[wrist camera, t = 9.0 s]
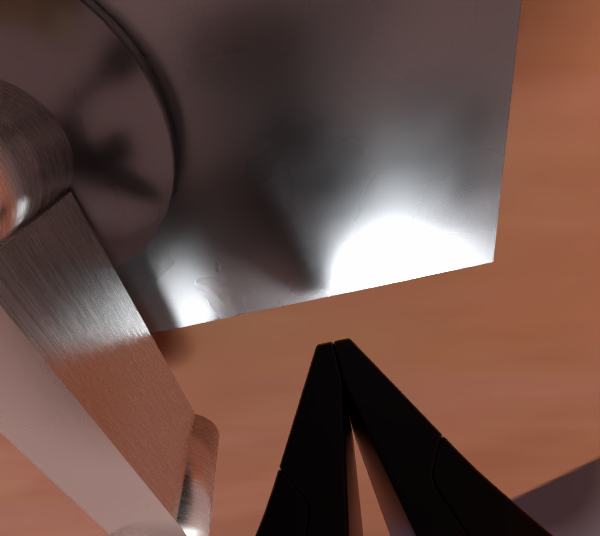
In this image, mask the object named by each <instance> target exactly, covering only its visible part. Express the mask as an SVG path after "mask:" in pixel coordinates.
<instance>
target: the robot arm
mask: <svg viewBox="0 0 600 536" xmlns="http://www.w3.org/2000/svg"><path fill="white" fill-rule="evenodd" d="M350 421H351V422H350ZM351 425H352V427H351ZM352 429H353V432H354V435H355V438H356V441H357V444H358V447H359V449H360V452H361V455H362V458H363V461H364V463H365V466H366V469H367V472H368V475H369V477H370V480H371V483H372V486H373V489H374V491H375V494H376V497H377V500H378V503H379V505H380V508H381V511H382V514H383V517H384V519H385V522H386V525H387V528H388V531H389V533H390V536H553V535H552V534H551V533H549V532H548V531H547V530H546V529H545V528H544V527H542V526H541V525H540V524H539V523H538V522H537V521H535V520H534V519H533V518H532V517H531V516H529V515H528V514H527V513H526V512H525V511H524V510H522V509H521V508H520V507H519V506H518V505H516V504H515V503H514V502H513V501H512V500H511V499H509V498H508V497H507V496H506V495H505V494H504V493H502V492H501V491H500V490H499V489H498V488H497V487H496V486H495V485H493V484H492V483H491V482H490V481H489V480H488V479H487V478H486V477H484V476H483V475H482V474H481V473H480V472H479V471H478V470H477V469H476V468H475V467H474V466H473V465H472V464H471V463H470V462H469V461H468V460H467V459H466V458H465V457H464V456H463V455H462V454H461V453H459V452H458V451H457V449H456V448H455V447H454V446H453V445H452V444H451V443H450V442H449V441H448V440H447V439H446V438H445V437H442V434H441V433H440V432H439V431H438V430H437V429H436V428H435V427H434V426H433V425H432V424H431V423H430V422H429V421H428V419H427V418H426V417H425V416H424V415H423V414H422V413H421V412H420V411H419V410H418V409H417V408H416V407H415V406H414V405H413V404H412V403H411V402H410V401H409V400H408V399H407V398H406V397H405V395H404V394H403V393H402V392H401V391H400V390H399V389H398V388H397V387H396V386H395V385H394V384H393V383H392V382H391V381H390V380H389V379H388V378H387V377H386V376H385V375H384V374H383V373H382V372H381V370H380V369H379V368H378V367H377V366H376V365H375V364H374V363H373V362H372V361H371V360H370V359H369V358H368V357H367V356H366V355H365V354H364V353H363V352H362V351H361V350H360V349H359V348H358V346H357V345H356V344H355V343H354V342H353V341H352V340H351V339H348V338H347V339H342V340H337V341H335V342H334V344H333V343H332V342H328V343H323V344H319V345H317V346H316V349H315V352H314V355H313V359H312V362H311V365H310V368H309V372H308V375H307V378H306V382H305V385H304V388H303V391H302V395H301V398H300V401H299V405H298V408H297V411H296V414H295V418H294V421H293V424H292V428H291V431H290V434H289V437H288V441H287V444H286V447H285V451H284V454H283V457H282V460H281V464H280V470H278V473H277V476H276V480H275V483H274V486H273V489H272V492H271V495H270V498H269V501H268V504H267V507H266V510H265V513H264V516H263V518H262V521H261V523H260V526H259V528H258V531H257V533H256V536H363V528H362V519H361V509H360V499H359V490H358V480H357V471H356V461H355V451H354V442H353V434H352Z"/></svg>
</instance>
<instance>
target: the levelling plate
mask: <svg viewBox="0 0 600 536" xmlns="http://www.w3.org/2000/svg"><path fill="white" fill-rule="evenodd" d="M92 1H94V2H95V3H96V4H97V5H98V6H99V7H100V8H101V9H102V10H103V11H104V12H105V13H106V14H108V15H109V16H110V17H111V18H112V19H113V20H114V21H115V22H116V23H117V24H118V26H119V27H120V28H121V29H122V30H123V31H124V32H125V34H126V35H127V36H128V37H129V38H130V39H131V40H132V42H133V43H134V44H135V46H136V47H137V49H138V50H139V51H140V53H141V54H142V56H143V57H144V59H145V60H146V61H147V63H148V64H149V66H150V68H151V70H152V72H153V73H154V75H155V77H156V79H157V80H158V82H159V84H160V86H161V88H162V91H163V93H164V95H165V98H166V100H167V102H168V105H169V108H170V111H171V114H172V118H173V121H174V125H175V129H176V135H177V141H178V147H179V172H178V181H177V186H176V190H175V194H174V198H173V200H172V203H171V205H170V207H169V210H168V212H167V214H166V216H165V218H164V220H163V222H162V223H161V225H160V227H159V229H158V230H157V232H156V233H155V235H154V236H153V238H152V240H151V241H150V242H149V243H148V244H147V245H146V246H145V247H144V249H143V250H142V251H141V252H140V253H138V254H137V255H136V256H135V257H134V258H132V259H131V260H130V261H128V262H127V263H125V264H123V265H122V266H120V267H118V268H117V269H115V271H116V273H117V275H118V277H119V279H120V280H121V282H122V284H123V286H124V287H125V289H126V291H127V293H128V295H129V296H130V298H131V300H132V302H133V304H134V305H135V307H136V309H137V311H138V312H139V314H140V316H141V318H142V320H143V321H144V323H145V325H146V327H147V329H148V330H149V332H150V334H151V333H155V332H160V331H165V330H170V329H174V328H179V327H184V326H189V325H194V324H198V323H203V322H208V321H213V320H217V319H222V318H227V317H232V316H237V315H241V314H246V313H251V312H256V311H260V310H265V309H270V308H275V307H280V306H284V305H289V304H294V303H299V302H303V301H308V300H313V299H318V298H322V297H327V296H332V295H337V294H342V293H346V292H351V291H356V290H361V289H365V288H370V287H375V286H380V285H385V284H389V283H394V282H399V281H404V280H408V279H413V278H418V277H423V276H428V275H432V274H437V273H442V272H447V271H451V270H456V269H461V268H466V267H470V266H475V265H480V264H485V263H490V262H493V257H494V248H495V239H496V230H497V220H498V211H499V202H500V193H501V184H502V175H503V165H504V156H505V147H506V138H507V129H508V120H509V111H510V101H511V92H512V83H513V74H514V65H515V56H516V46H517V37H518V28H519V19H520V10H521V1H522V0H92Z"/></svg>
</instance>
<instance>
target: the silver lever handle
mask: <svg viewBox="0 0 600 536" xmlns="http://www.w3.org/2000/svg"><path fill="white" fill-rule="evenodd" d="M178 172H179V147H178V141H177V135H176V129H175V125H174V121H173V118H172V114H171V111H170V108H169V105H168V102H167V100H166V98H165V95H164V93H163V91H162V88H161V86H160V84H159V82H158V80H157V79H156V77H155V75H154V73H153V72H152V70H151V68H150V66H149V64H148V63H147V61H146V60H145V59H144V57H143V56H142V54H141V53H140V51H139V50H138V49H137V47H136V46H135V44H134V43H133V42H132V40H131V39H130V38H129V37H128V36H127V35H126V34H125V32H124V31H123V30H122V29H121V28H120V27H119V26H118V24H117V23H116V22H115V21H114V20H113V19H112V18H111V17H110V16H109V15H108V14H106V13H105V12H104V11H103V10H102V9H101V8H100V7H99V6H98V5H97V4H96V3H95V2H94V1H92V0H0V433H1V434H3V435H4V436H5V437H6V438H7V439H8V440H9V441H10V442H11V443H12V444H13V445H14V446H15V447H16V448H18V449H19V450H20V451H21V452H22V453H23V454H24V455H25V456H26V457H27V458H28V459H29V460H30V461H31V462H33V463H34V464H35V465H36V466H37V467H38V468H39V469H40V470H41V471H42V472H43V473H44V474H45V475H46V476H48V477H49V478H50V479H51V480H52V481H53V482H54V483H55V484H56V485H57V486H58V487H59V488H60V489H61V490H63V491H64V492H65V493H66V494H67V495H68V496H69V497H70V498H71V499H72V500H73V501H74V502H75V503H76V504H78V505H79V506H80V507H81V508H82V509H83V510H84V511H85V512H86V513H87V514H88V515H89V516H90V517H92V518H93V519H94V520H95V521H96V522H97V523H98V524H99V525H100V526H101V527H102V528H103V529H104V530H105V531H107V532H108V533H109V534H108V536H209V531H210V521H211V512H212V502H213V493H214V483H215V474H216V465H217V455H218V446H219V431H218V429H217V427H216V426H215V425H214V424H213V423H212V422H211V421H210V420H208V419H207V418H205V417H203V416H200V415H197V414H195V412H194V411H193V409H192V407H191V405H190V404H189V402H188V400H187V398H186V396H185V395H184V393H183V391H182V389H181V387H180V386H179V384H178V382H177V380H176V379H175V377H174V375H173V373H172V371H171V370H170V368H169V366H168V364H167V362H166V361H165V359H164V357H163V355H162V354H161V352H160V350H159V348H158V346H157V345H156V343H155V341H154V339H153V337H152V336H151V334H150V332H149V330H148V329H147V327H146V325H145V323H144V321H143V320H142V318H141V316H140V314H139V312H138V311H137V309H136V307H135V305H134V304H133V302H132V300H131V298H130V296H129V295H128V293H127V291H126V289H125V287H124V286H123V284H122V282H121V280H120V279H119V277H118V275H117V273H116V271H115V269H117V268H118V267H120V266H122V265H123V264H125V263H127V262H128V261H130V260H131V259H132V258H134V257H135V256H136V255H137V254H138V253H140V252H141V251H142V250H143V249H144V247H145V246H146V245H147V244H148V243H149V242H150V241H151V240H152V238H153V236H154V235H155V233H156V232H157V230H158V229H159V227H160V225H161V223H162V222H163V220H164V218H165V216H166V214H167V212H168V210H169V207H170V205H171V203H172V200H173V198H174V194H175V190H176V186H177V181H178Z"/></svg>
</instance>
